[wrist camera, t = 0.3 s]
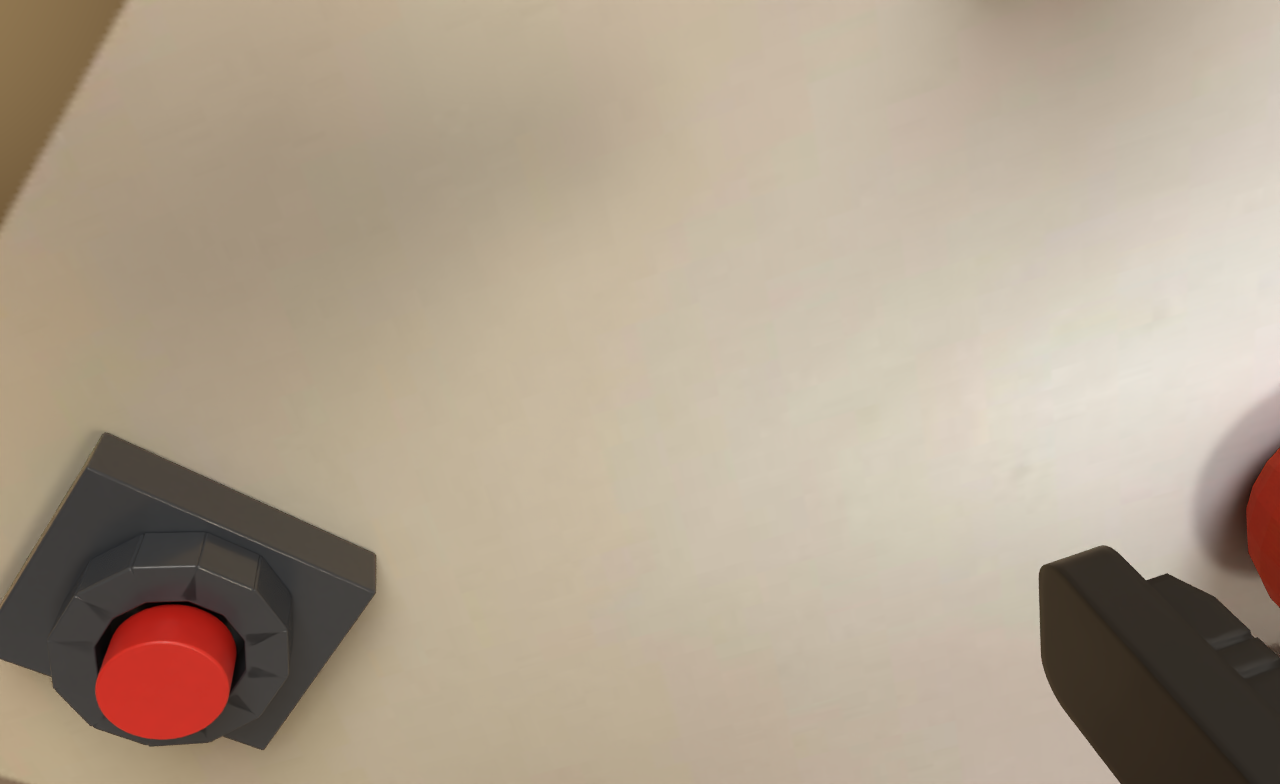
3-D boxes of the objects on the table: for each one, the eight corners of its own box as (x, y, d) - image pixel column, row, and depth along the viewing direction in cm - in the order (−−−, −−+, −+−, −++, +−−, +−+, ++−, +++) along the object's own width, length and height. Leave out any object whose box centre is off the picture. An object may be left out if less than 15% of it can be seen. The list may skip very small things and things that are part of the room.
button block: (-2, 606, 32) (-49, 693, 29) (104, 430, 31) (68, 499, 27) (270, 705, 36) (257, 793, 32) (377, 553, 34) (376, 628, 31)
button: (87, 673, 30) (71, 715, 28) (144, 585, 29) (130, 623, 28) (201, 713, 31) (192, 756, 30) (258, 630, 30) (252, 669, 29)
